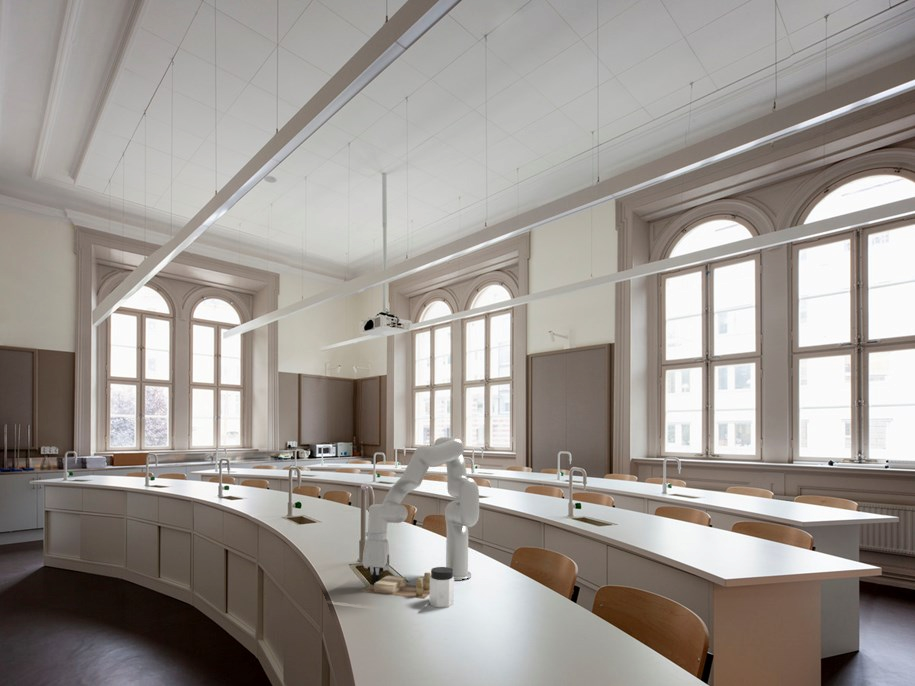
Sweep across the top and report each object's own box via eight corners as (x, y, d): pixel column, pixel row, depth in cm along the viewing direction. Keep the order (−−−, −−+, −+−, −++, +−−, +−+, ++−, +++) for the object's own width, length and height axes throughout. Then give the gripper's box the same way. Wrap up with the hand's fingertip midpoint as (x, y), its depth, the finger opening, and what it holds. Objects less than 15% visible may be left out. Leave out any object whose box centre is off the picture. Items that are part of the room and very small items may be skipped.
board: (377, 583, 225) (378, 565, 226) (436, 590, 217) (437, 572, 218) (361, 593, 212) (361, 574, 213) (423, 601, 204) (424, 581, 205)
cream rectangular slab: (387, 583, 223) (387, 575, 223) (405, 585, 220) (405, 577, 221) (374, 591, 211) (374, 583, 212) (392, 593, 209) (393, 585, 209)
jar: (430, 608, 197) (431, 572, 199) (428, 600, 205) (429, 567, 207) (455, 607, 198) (455, 572, 200) (452, 600, 206) (452, 566, 208)
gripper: (356, 536, 219) (354, 585, 217) (390, 539, 215) (388, 589, 212) (365, 533, 226) (363, 580, 224) (398, 536, 222) (396, 584, 219)
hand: (375, 584), depth 218 cm, fingers closed
